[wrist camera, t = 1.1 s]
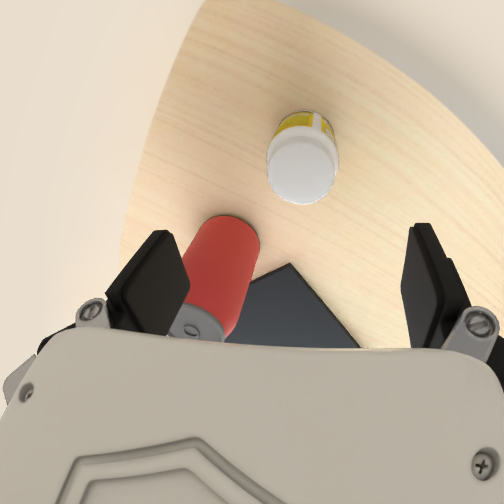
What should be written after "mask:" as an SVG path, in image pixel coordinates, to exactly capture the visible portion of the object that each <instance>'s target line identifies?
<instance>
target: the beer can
mask: <svg viewBox="0 0 504 504" xmlns="http://www.w3.org/2000/svg"><path fill="white" fill-rule="evenodd" d="M259 251H260V245H259V240H258V238H257V235H256V233H255V232H254V231H253V229H252V228H251V227H250V226H249V225H248V224H246V223H245V222H243V221H242V220H240V219H237V218H234V217H232V216H218V217H214V218H211V219H209V220H208V221H206V222H205V223H204V224H203V225H202V226H201V228H200V229H199V231H198V233H197V234H196V236H195V237H194V239H193V241H192V242H191V244H190V246H189V247H188V249H187V251H186V252H185V254H184V255H183V257H182V261H183V264H184V267H185V270H186V272H187V275H188V278H189V280H190V285H191V286H190V291H189V293H188V295H187V297H186V298H185V300H184V302H183V304H182V306H181V308H180V310H179V312H178V314H177V316H176V318H175V320H174V322H173V324H172V326H171V328H170V330H169V332H168V334H167V335H168V336H169V337H176V338H184V339H193V340H202V341H212V342H223V343H224V340H225V338H226V337H227V336H228V335H229V334H230V333H231V332H232V331H233V329H234V328H235V326H236V324H237V321H238V319H239V316H240V312H241V309H242V306H243V303H244V300H245V296H246V293H247V290H248V287H249V284H250V280H251V277H252V274H253V271H254V267H255V264H256V261H257V258H258V254H259Z"/></svg>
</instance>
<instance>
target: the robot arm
mask: <svg viewBox="0 0 504 504" xmlns="http://www.w3.org/2000/svg"><path fill="white" fill-rule="evenodd" d="M190 286H191V285H190V280H189V278H188V275H187V272H186V270H185V267H184V264H183V261H182V259H181V256H180V253H179V250H178V247H177V244H176V242H175V239H174V236H173V234H172V233H170V232H169V231H168V230H155V231H153V232H152V234H151V235H150V236H149V237H148V238H147V240H146V241H145V242H144V243H143V245H142V246H141V247H140V248H139V249H138V251H137V252H136V253H135V254H134V256H133V257H132V258H131V260H130V261H129V262H128V263H127V265H126V266H125V267H124V268H123V270H122V271H121V272H120V274H119V275H118V276H117V278H116V279H115V280H114V281H113V283H112V284H111V285H110V287H109V288H108V290H107V291H106V292H105V294H106V296H107V298H108V299H107V301H106V302H105V300H103V299H102V298H94V299H91V300H89V301H87V302H85V303H84V304H83V305H82V306H81V307H80V308H79V309H78V311H77V313H76V323H74V324H72V325H70V326H68V327H66V328H64V329H62V330H60V331H58V332H56V333H54V334H52V335H51V336H49V337H46V338H45V339H43V340H42V342H41V344H40V345H39V348H38V351H37V356H36V355H35V354H34V355H33V356H31V357H30V358H29V359H28V360H27V361H25V362H24V363H23V364H22V365H21V366H19V367H18V368H17V369H16V370H15V371H14V372H12V373H11V374H10V375H9V376H8V377H7V378H6V380H5V382H4V385H3V392H4V395H5V399H6V402H7V408H6V410H5V412H4V414H3V416H2V418H1V420H0V504H504V338H502V337H501V336H499V335H498V334H499V329H500V327H499V322H498V320H497V318H496V316H495V315H494V314H493V313H492V312H491V311H489V310H488V309H486V308H483V307H480V306H471V303H470V301H469V298H468V296H467V293H466V291H465V288H464V286H463V284H462V281H461V279H460V277H459V274H458V272H457V270H456V268H455V265H454V263H453V261H452V260H451V258H447V257H446V255H445V253H444V251H443V248H442V246H441V244H440V242H439V240H438V238H437V236H436V234H435V232H434V230H433V228H432V226H431V224H430V223H415V225H414V227H410V229H409V236H408V243H407V250H406V257H405V263H404V269H403V274H402V280H401V295H402V299H403V304H404V309H405V314H406V320H407V325H408V331H409V337H410V343H411V348H371V349H366V348H301V347H279V346H262V345H247V344H234V343H223V342H212V341H202V340H193V339H184V338H176V337H168V336H167V334H168V332H169V330H170V328H171V326H172V324H173V322H174V320H175V318H176V316H177V314H178V312H179V310H180V308H181V306H182V304H183V302H184V300H185V298H186V297H187V295H188V293H189V291H190Z"/></svg>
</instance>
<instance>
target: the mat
mask: <svg viewBox="0 0 504 504" xmlns="http://www.w3.org/2000/svg"><path fill="white" fill-rule="evenodd" d="M224 343H234V344H247V345H262V346H279V347H301V348H361V347H360V346H359V345H358V344H357V342H356V341H355V340H354V339H353V338H352V336H351V335H350V334H349V333H348V331H347V330H346V329H345V328H344V327H343V325H342V324H341V323H340V322H339V321H338V319H337V318H336V317H335V316H334V315H333V313H332V312H331V311H330V310H329V309H328V307H327V306H326V305H325V304H324V303H323V301H322V300H321V299H320V298H319V297H318V295H317V294H316V293H315V292H314V291H313V290H312V288H311V287H310V286H309V285H308V284H307V282H306V281H305V280H304V279H303V278H302V276H301V275H300V274H299V273H298V272H297V271H296V269H295V268H294V267H293V266H292V265H291V264H290V263H289V264H287V265H285V266H283V267H280V268H278V269H276V270H274V271H272V272H270V273H268V274H266V275H264V276H262V277H260V278H258V279H256V280H254V281H252V282H250V284H249V287H248V290H247V293H246V296H245V300H244V303H243V306H242V309H241V312H240V316H239V319H238V321H237V324H236V326H235V328H234V329H233V331H232V332H231V333H230V334H229V335H228V336H227V337H226V338H225V340H224Z"/></svg>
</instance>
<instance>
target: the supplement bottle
mask: <svg viewBox="0 0 504 504" xmlns="http://www.w3.org/2000/svg"><path fill="white" fill-rule="evenodd" d="M267 166H268V167H267V177H268V181H269V184H270V186H271V187H272V189H273V190H274V192H275V193H276V194H277V195H278V196H280V197H281V198H282V199H284V200H286V201H288V202H291V203H295V204H310V203H314V202H316V201H318V200H320V199H322V198H323V197H324V196H325V195H326V194H327V193H328V192H329V191H330V189H331V187H332V185H333V182H334V177H335V175H336V173H337V170H338V166H339V155H338V150H337V145H336V140H335V135H334V131H333V129H332V126H331V125H330V123H329V122H328V121H327V120H326V119H325V118H324V117H323V116H321V115H320V114H318V113H315V112H312V111H306V110H302V111H296V112H293V113H291V114H289V115H288V116H287V117H285V118H284V119H283V121H282V122H281V123H280V125H279V127H278V129H277V131H276V133H275V135H274V137H273V139H272V141H271V143H270V145H269V147H268V150H267Z"/></svg>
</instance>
